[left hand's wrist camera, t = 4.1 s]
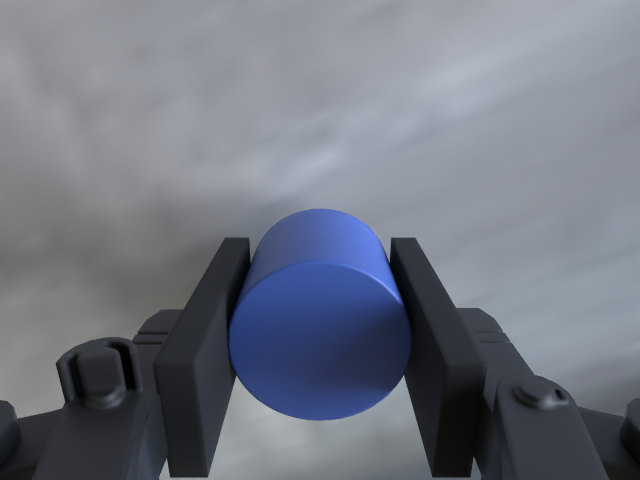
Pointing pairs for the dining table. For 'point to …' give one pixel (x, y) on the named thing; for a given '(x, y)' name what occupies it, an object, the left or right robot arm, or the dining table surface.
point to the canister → (320, 319)
